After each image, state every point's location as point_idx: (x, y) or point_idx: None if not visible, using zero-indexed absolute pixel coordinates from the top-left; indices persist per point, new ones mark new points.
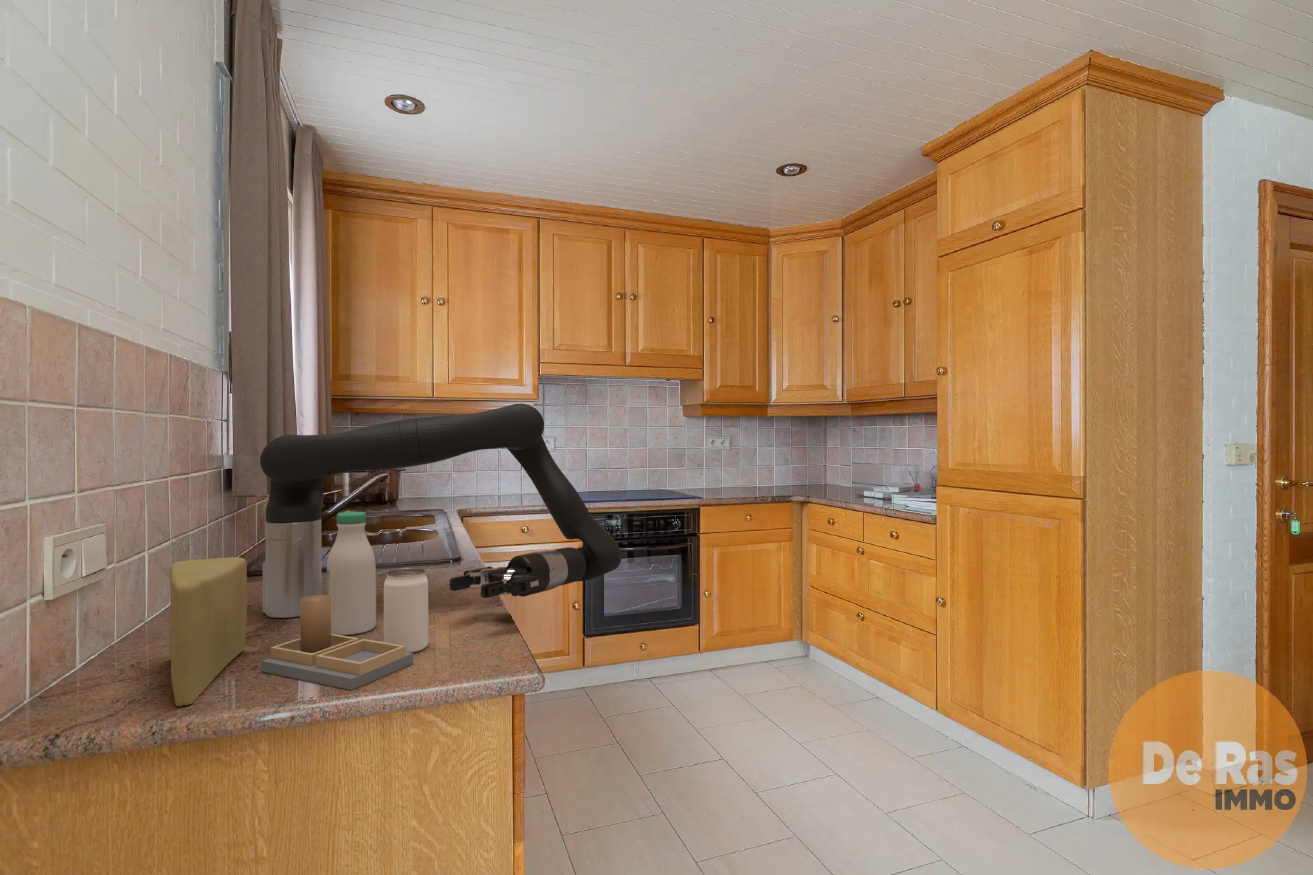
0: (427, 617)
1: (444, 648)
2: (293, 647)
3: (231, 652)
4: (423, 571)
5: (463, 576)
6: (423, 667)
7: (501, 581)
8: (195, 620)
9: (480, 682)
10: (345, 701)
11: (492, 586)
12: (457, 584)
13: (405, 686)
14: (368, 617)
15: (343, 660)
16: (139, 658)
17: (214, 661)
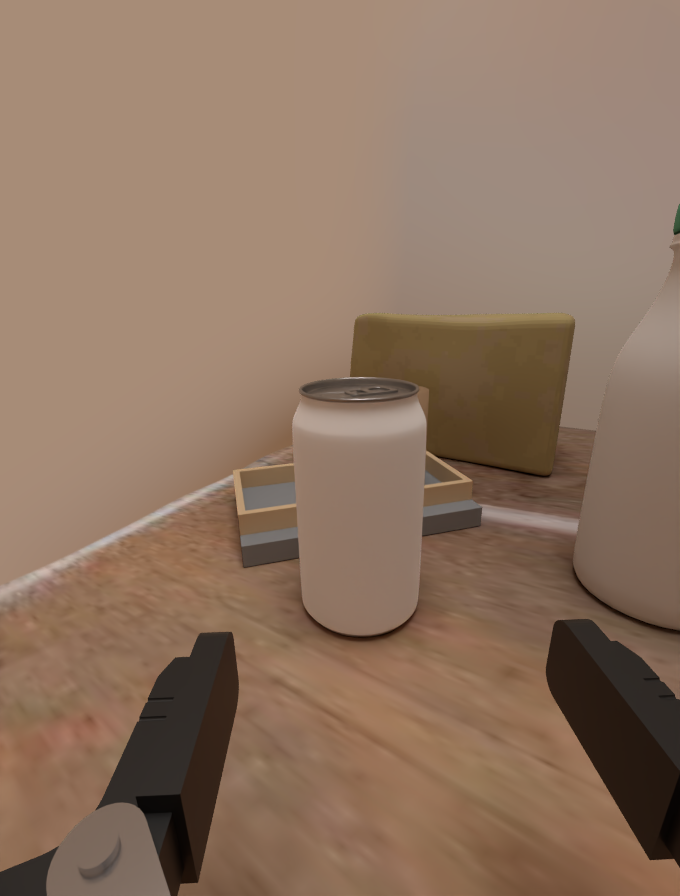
0: (314, 548)
1: (267, 654)
2: (434, 470)
3: (481, 450)
4: (341, 404)
5: (622, 697)
6: (204, 570)
7: (139, 814)
8: (354, 357)
9: (8, 590)
10: (209, 487)
11: (164, 694)
12: (573, 687)
13: (165, 527)
14: (601, 562)
15: (271, 466)
16: (570, 440)
17: None
